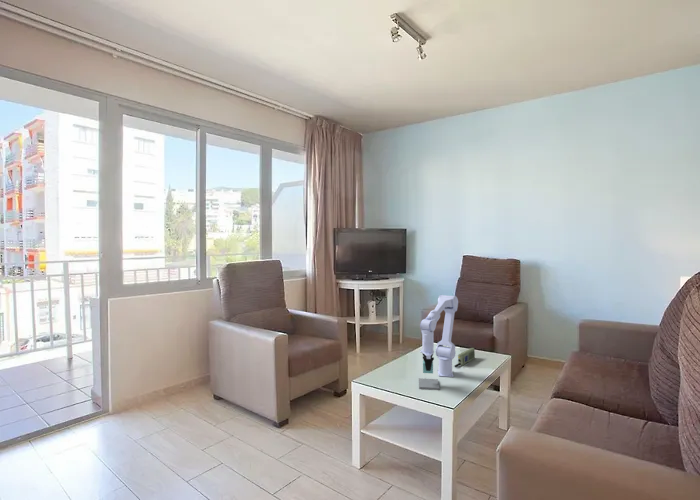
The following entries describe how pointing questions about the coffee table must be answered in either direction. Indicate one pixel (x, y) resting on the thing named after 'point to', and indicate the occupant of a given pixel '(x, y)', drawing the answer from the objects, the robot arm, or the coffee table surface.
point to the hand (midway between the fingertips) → (428, 368)
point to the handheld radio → (465, 357)
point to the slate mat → (428, 384)
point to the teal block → (425, 368)
